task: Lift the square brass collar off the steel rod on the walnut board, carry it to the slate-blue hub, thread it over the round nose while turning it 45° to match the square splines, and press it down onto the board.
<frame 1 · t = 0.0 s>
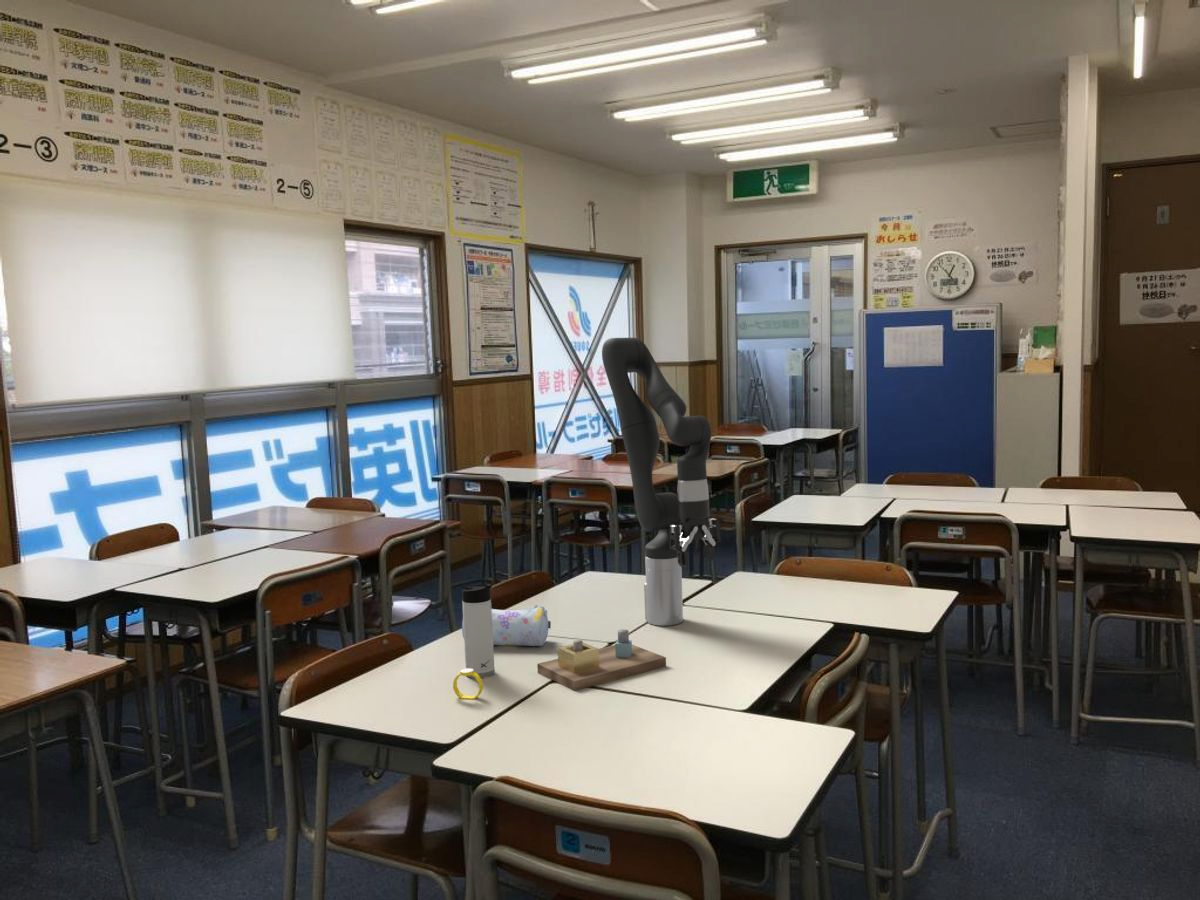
hand: (696, 563, 234), 17 cm above the table, tool pointing down, fingers open, 8 cm apart
collar: (578, 666, 207), point 2 cm above the table, touching workboard
workboard: (602, 669, 210), on the table
hub: (623, 654, 213), resting on workboard
pencil case: (506, 645, 232), on the table
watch: (468, 699, 195), on the table
travel mug: (481, 674, 210), on the table
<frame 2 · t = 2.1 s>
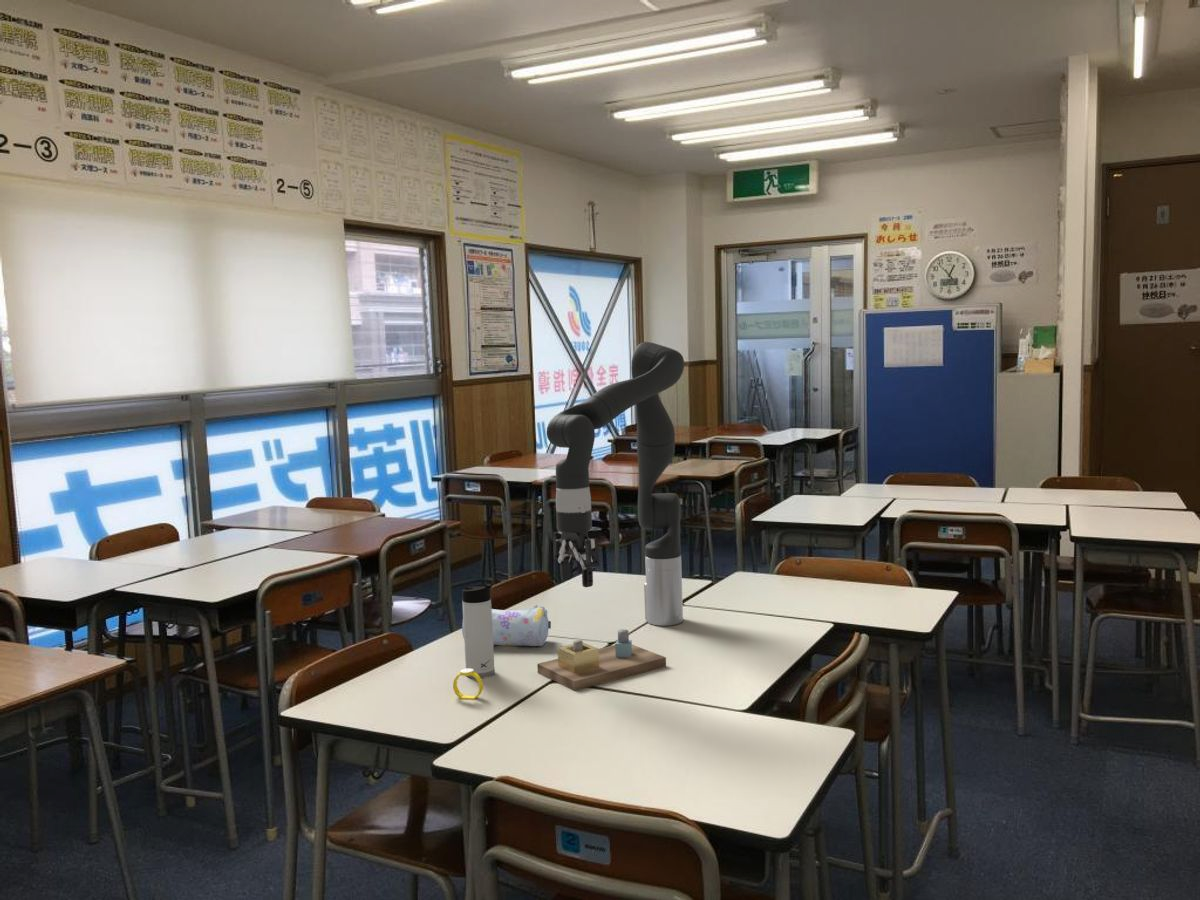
hand: (576, 583, 205), 20 cm above the table, tool pointing down, fingers open, 8 cm apart
nothing on the table moved.
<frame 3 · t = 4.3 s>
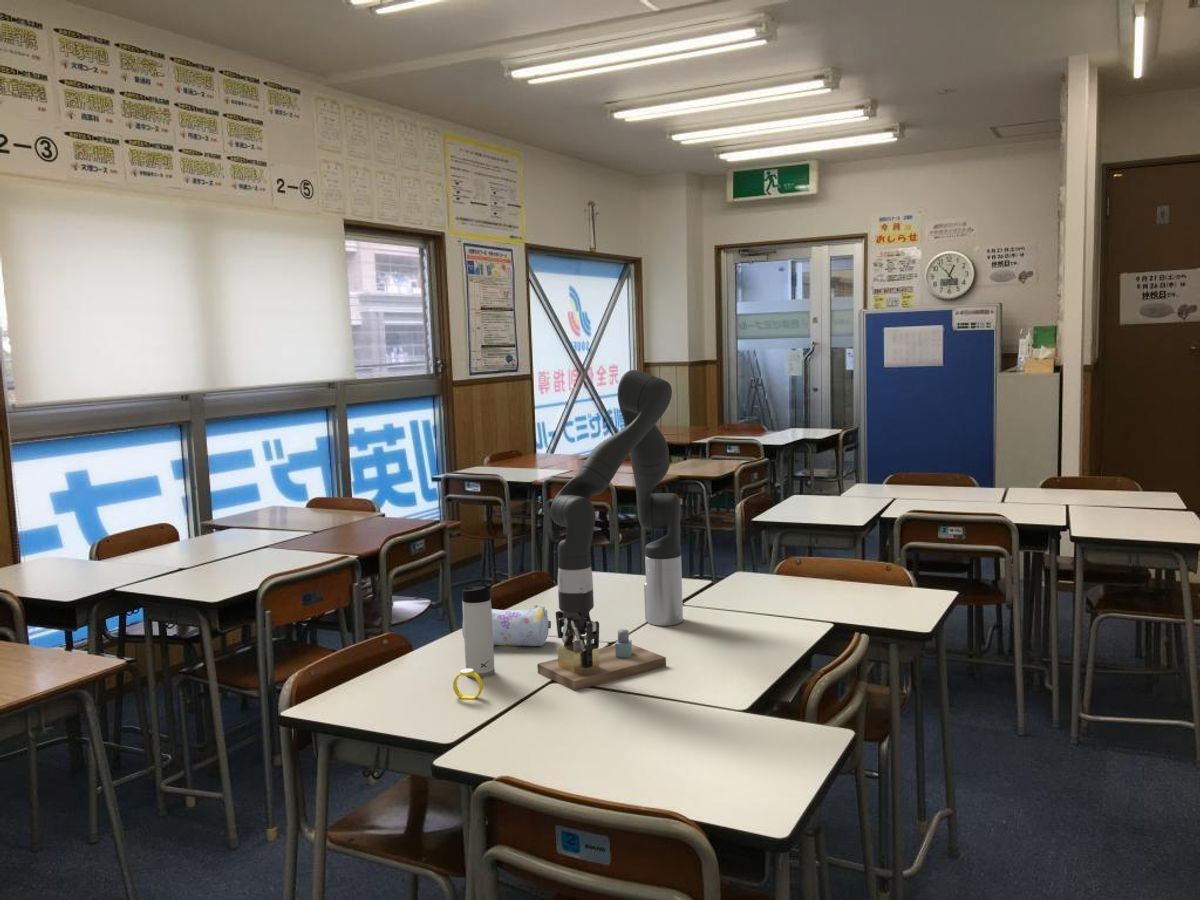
hand: (578, 663, 207), 3 cm above the table, tool pointing down, fingers closed on collar, 6 cm apart
collar: (578, 666, 207), point 2 cm above the table, touching gripper, workboard
everything else where it was.
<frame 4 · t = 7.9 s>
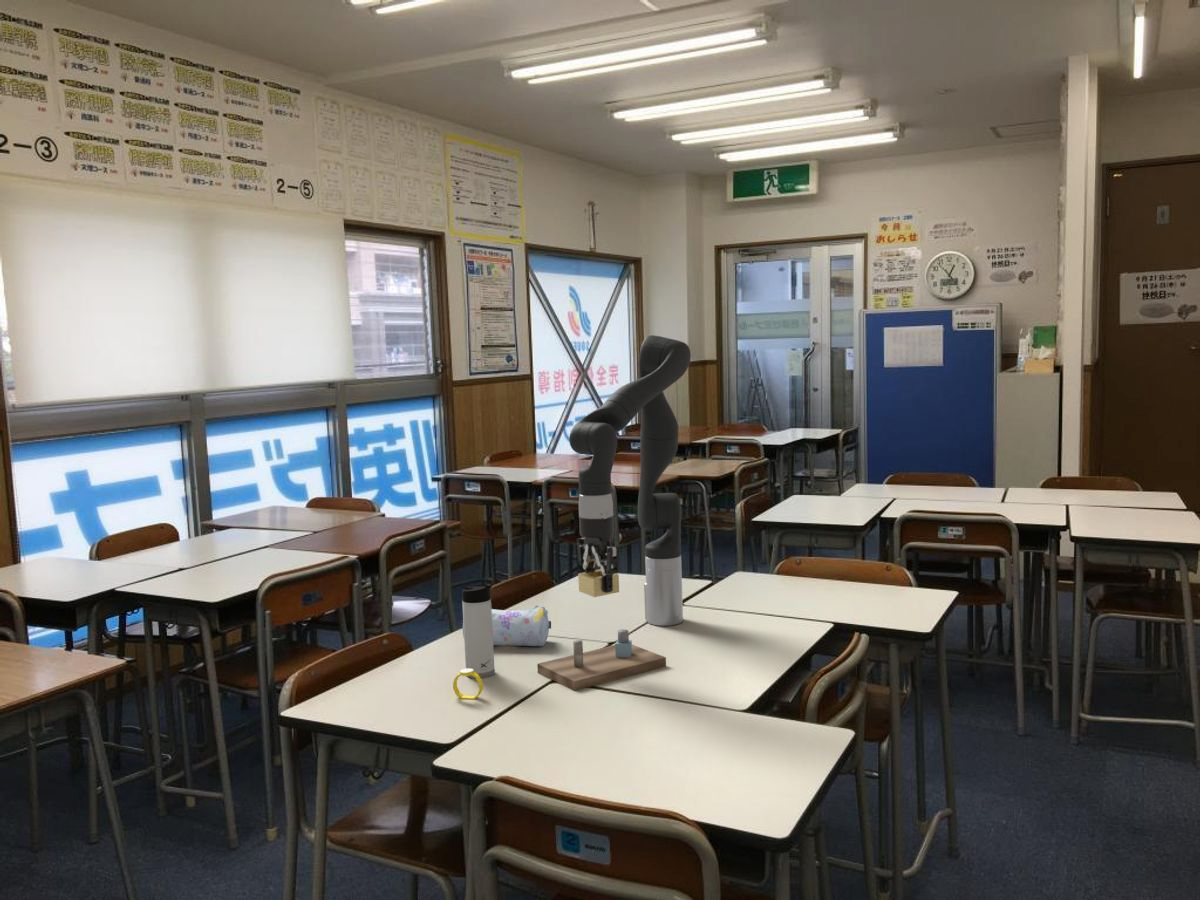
hand: (599, 588, 210), 18 cm above the table, tool pointing down, fingers closed on collar, 6 cm apart
collar: (599, 591, 210), point 17 cm above the table, touching gripper
everything else where it was.
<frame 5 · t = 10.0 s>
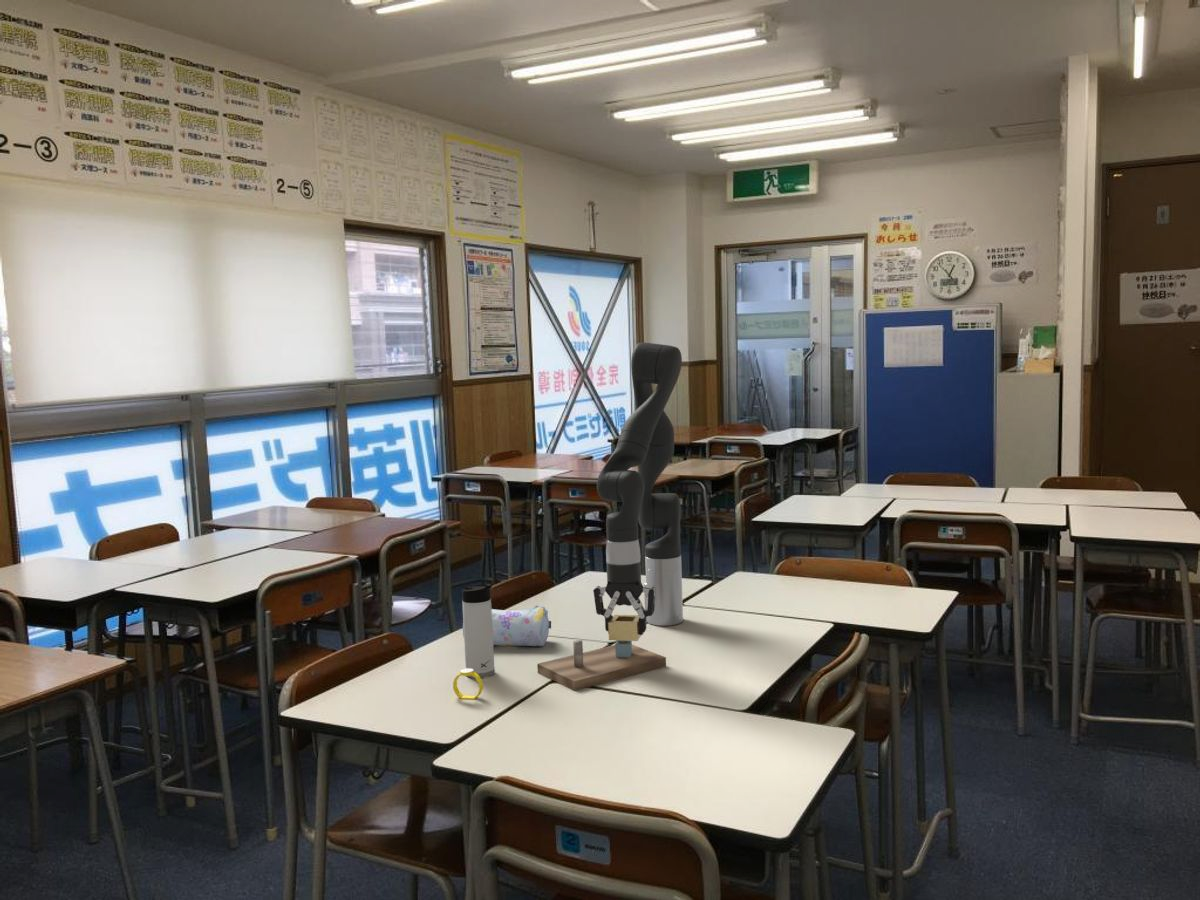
hand: (626, 633, 213), 7 cm above the table, tool pointing down, fingers closed on collar, 6 cm apart
collar: (626, 636, 213), point 6 cm above the table, touching gripper
everything else where it was.
when the fingers open (3 cm above the table, at t = 11.9 s): collar stays where it is, resting on workboard.
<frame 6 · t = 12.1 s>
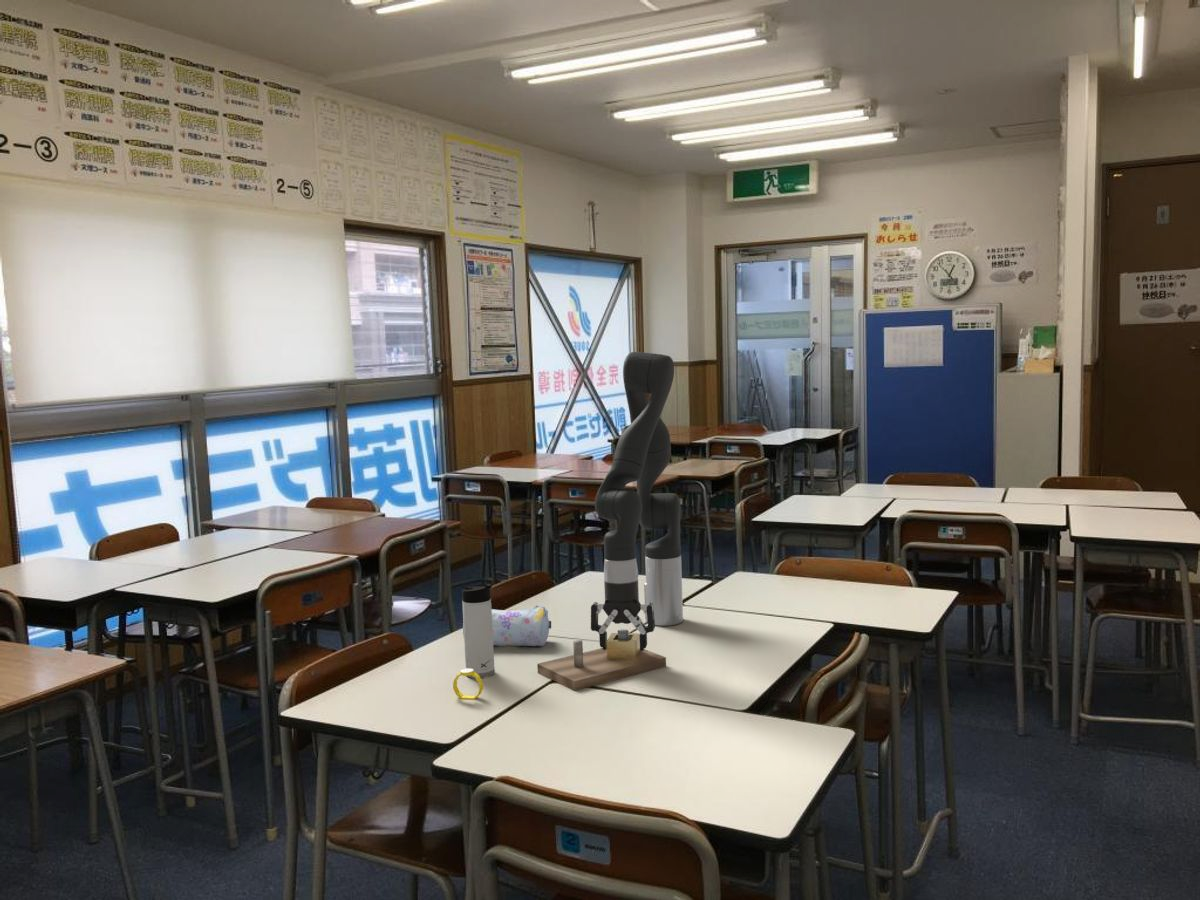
hand: (623, 649, 213), 3 cm above the table, tool pointing down, fingers open, 8 cm apart
collar: (623, 654, 213), point 2 cm above the table, touching workboard
everything else where it was.
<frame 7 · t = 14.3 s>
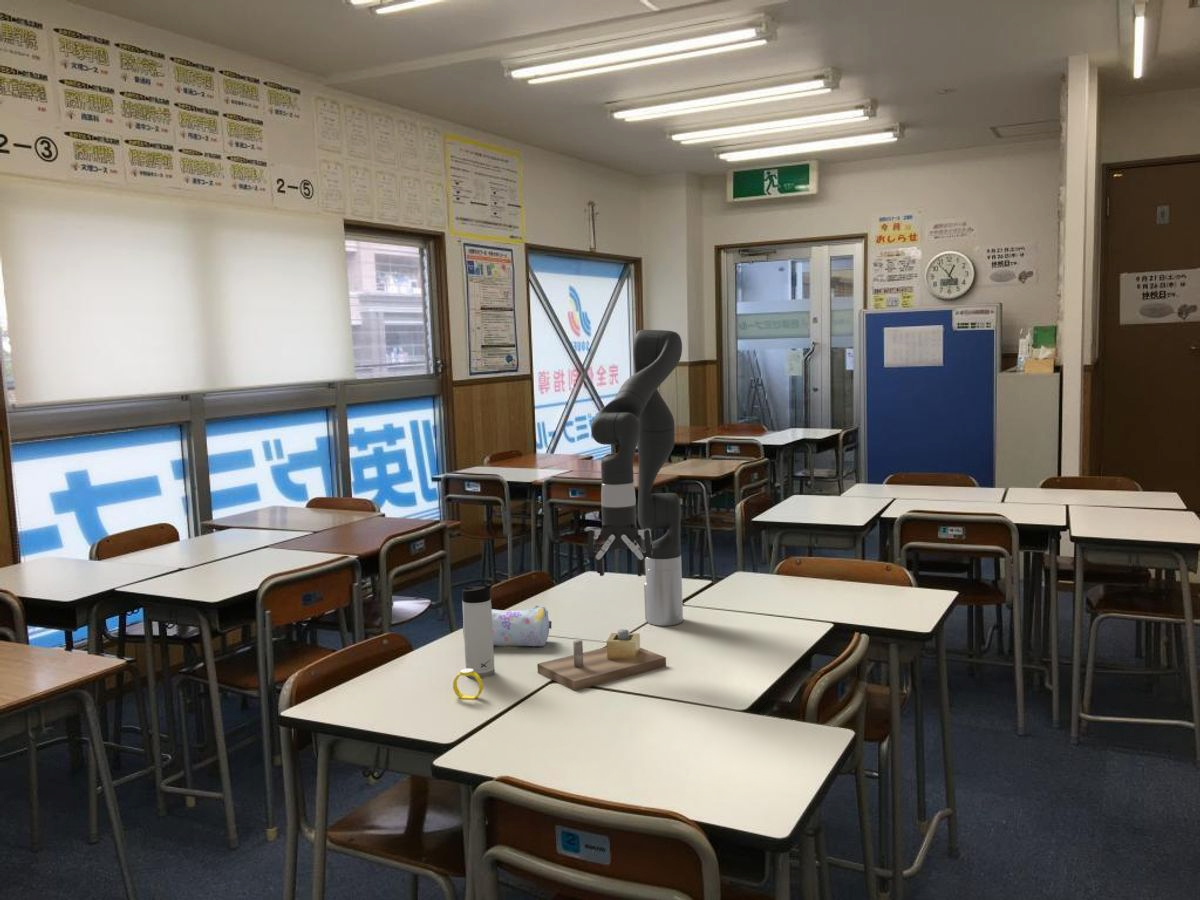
hand: (621, 575, 212), 20 cm above the table, tool pointing down, fingers open, 8 cm apart
nothing on the table moved.
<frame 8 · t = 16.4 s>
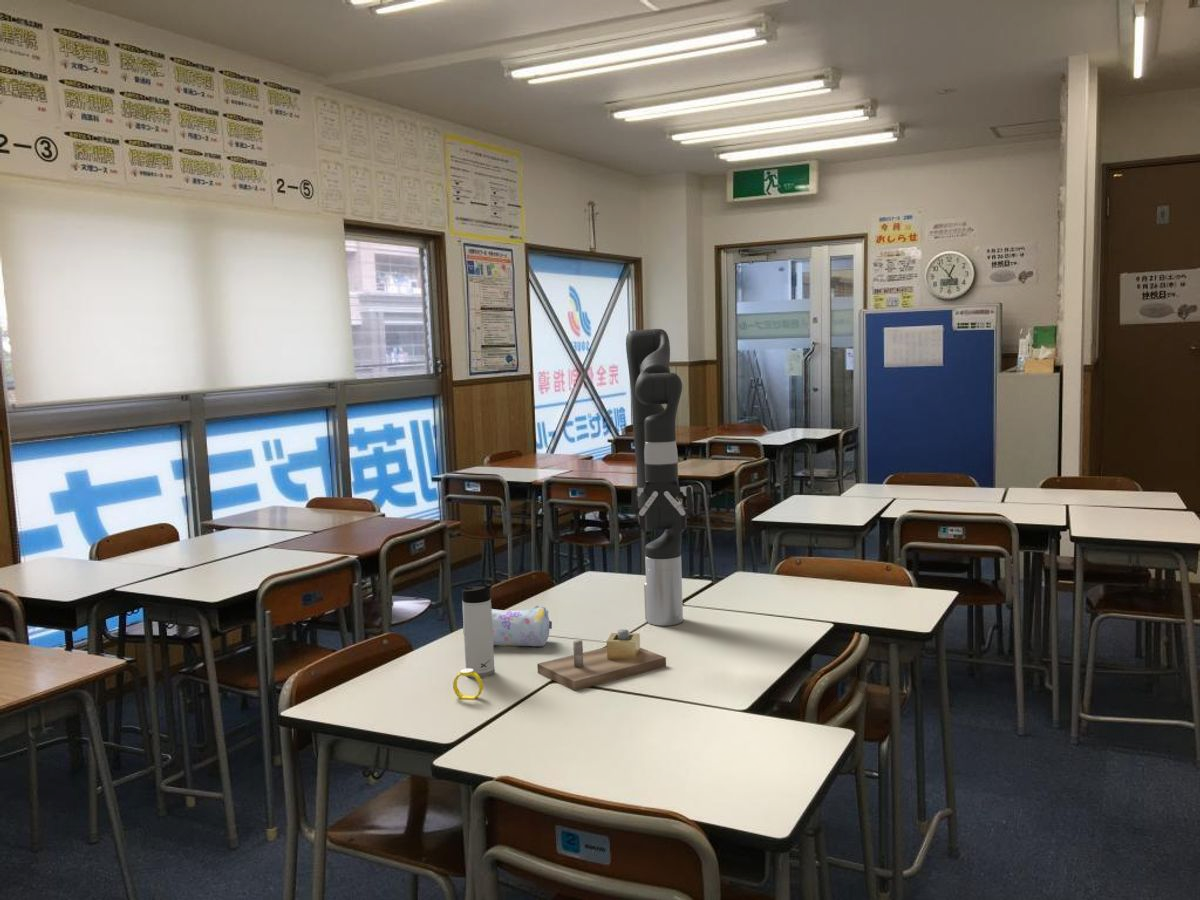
hand: (663, 531, 219), 28 cm above the table, tool pointing down, fingers open, 8 cm apart
nothing on the table moved.
at the end: collar 0.0 cm off-centre on the hub, point 0.0 cm above the hub's base; the gripper is holding nothing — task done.
